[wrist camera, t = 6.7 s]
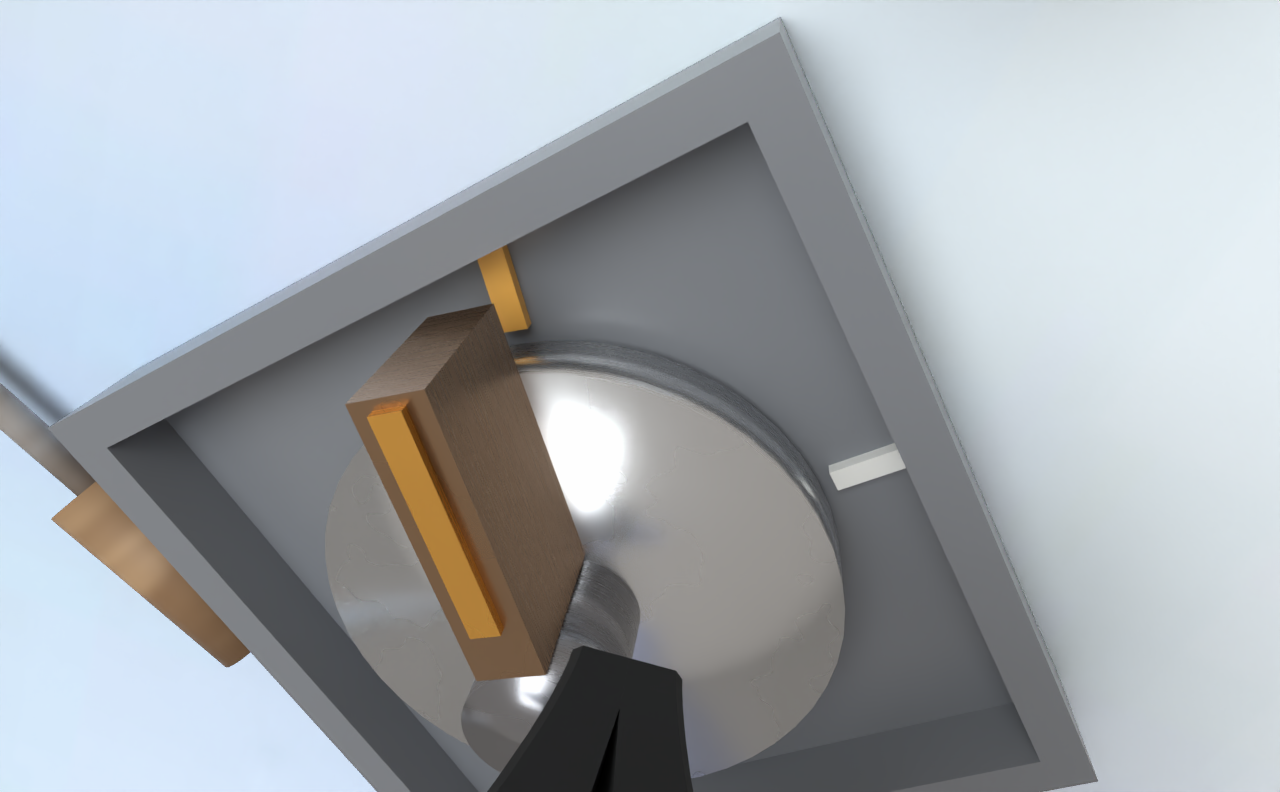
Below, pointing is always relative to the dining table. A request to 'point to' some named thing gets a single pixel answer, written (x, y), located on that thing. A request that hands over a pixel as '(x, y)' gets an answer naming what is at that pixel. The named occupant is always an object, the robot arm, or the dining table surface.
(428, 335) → the dial
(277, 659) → the tray
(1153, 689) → the dining table surface
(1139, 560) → the dining table surface
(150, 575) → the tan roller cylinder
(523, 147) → the dining table surface
